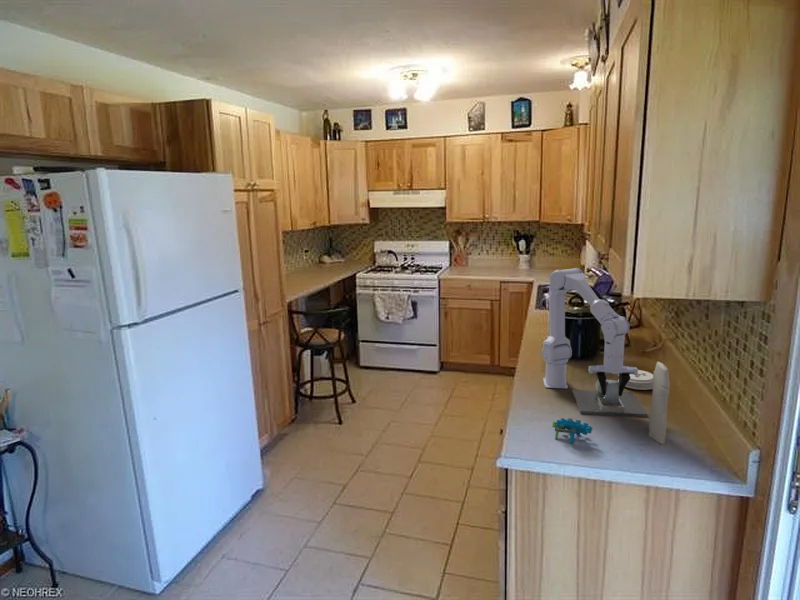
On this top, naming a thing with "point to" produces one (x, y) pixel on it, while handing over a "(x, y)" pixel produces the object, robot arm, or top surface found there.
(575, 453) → the top surface
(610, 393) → the grey rounded capsule
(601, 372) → the robot arm
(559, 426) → the teal bumpy piece
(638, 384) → the lid
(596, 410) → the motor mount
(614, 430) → the top surface
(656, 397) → the tall pale column
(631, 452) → the top surface
